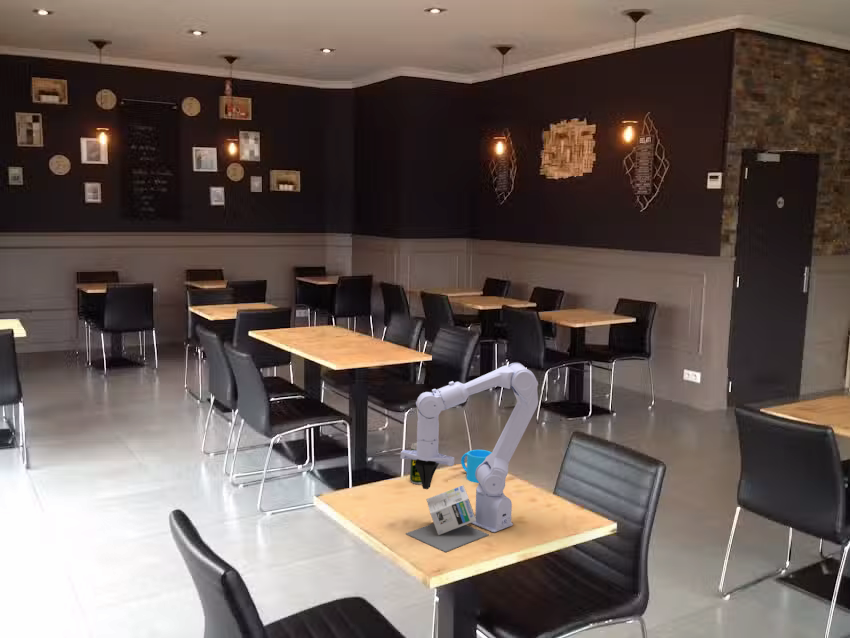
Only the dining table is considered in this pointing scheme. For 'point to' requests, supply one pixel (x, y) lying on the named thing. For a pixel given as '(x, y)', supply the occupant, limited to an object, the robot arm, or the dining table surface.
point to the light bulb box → (451, 510)
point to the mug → (473, 462)
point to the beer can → (414, 468)
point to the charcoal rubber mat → (447, 537)
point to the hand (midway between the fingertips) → (426, 487)
